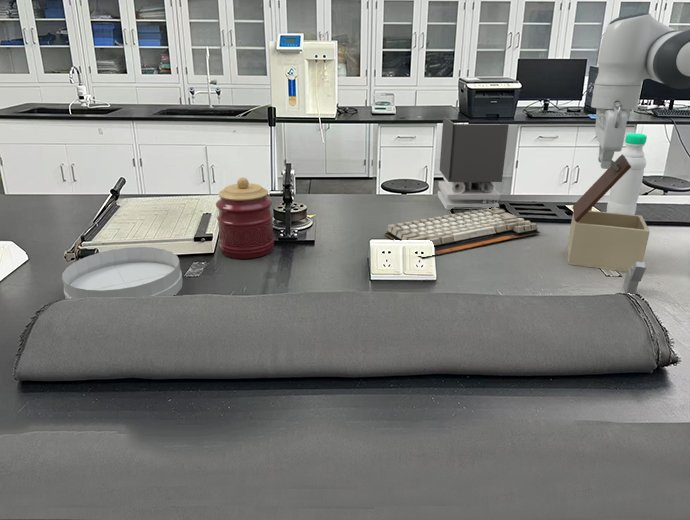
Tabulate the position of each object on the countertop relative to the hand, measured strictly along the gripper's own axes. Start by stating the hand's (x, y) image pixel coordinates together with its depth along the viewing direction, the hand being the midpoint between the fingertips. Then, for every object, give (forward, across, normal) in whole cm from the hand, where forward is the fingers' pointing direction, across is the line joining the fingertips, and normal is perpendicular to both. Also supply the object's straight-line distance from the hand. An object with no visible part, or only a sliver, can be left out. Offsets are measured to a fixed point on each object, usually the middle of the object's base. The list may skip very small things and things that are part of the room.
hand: (603, 165), depth 116 cm
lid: (+5, 0, 0) cm, 5 cm away
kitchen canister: (+21, -23, +77) cm, 83 cm away
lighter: (+22, -18, -7) cm, 29 cm away
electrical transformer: (+22, +37, +33) cm, 54 cm away
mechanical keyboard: (+22, +6, +30) cm, 37 cm away
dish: (+21, -51, +89) cm, 105 cm away
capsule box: (+22, 0, -3) cm, 22 cm away
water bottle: (+22, +27, -9) cm, 36 cm away
